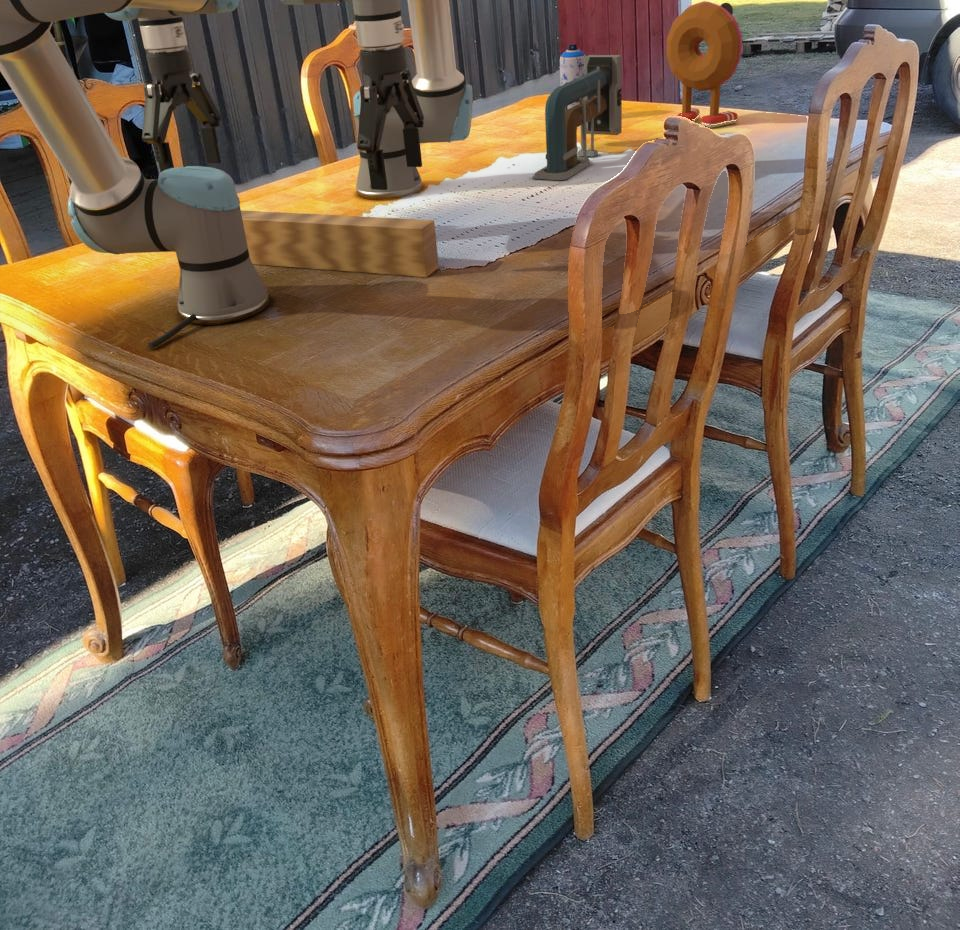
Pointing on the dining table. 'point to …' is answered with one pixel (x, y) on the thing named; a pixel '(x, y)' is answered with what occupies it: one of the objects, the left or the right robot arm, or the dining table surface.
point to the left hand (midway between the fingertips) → (192, 171)
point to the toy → (705, 56)
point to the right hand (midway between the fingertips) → (397, 177)
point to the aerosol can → (572, 66)
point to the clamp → (582, 116)
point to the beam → (342, 242)
